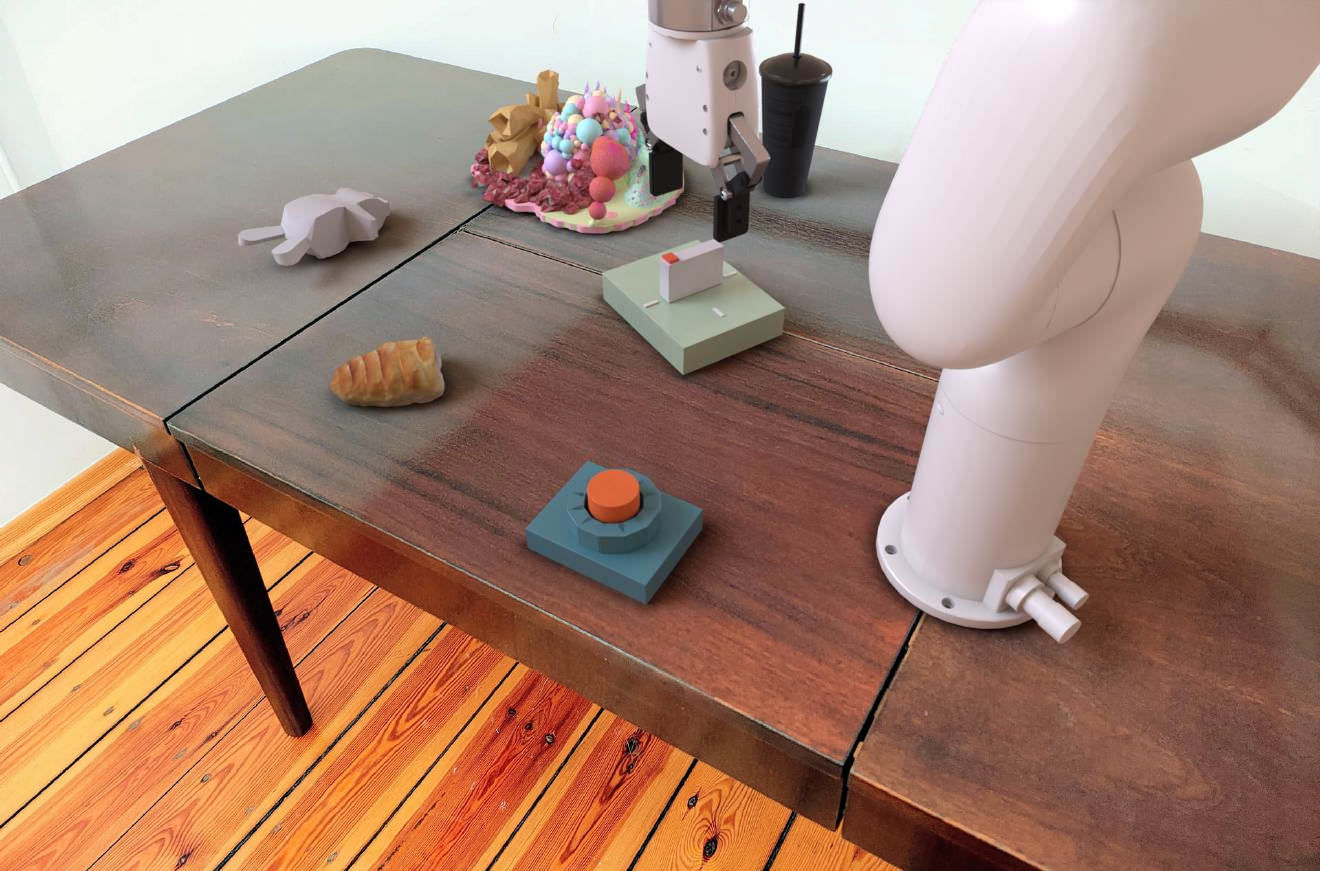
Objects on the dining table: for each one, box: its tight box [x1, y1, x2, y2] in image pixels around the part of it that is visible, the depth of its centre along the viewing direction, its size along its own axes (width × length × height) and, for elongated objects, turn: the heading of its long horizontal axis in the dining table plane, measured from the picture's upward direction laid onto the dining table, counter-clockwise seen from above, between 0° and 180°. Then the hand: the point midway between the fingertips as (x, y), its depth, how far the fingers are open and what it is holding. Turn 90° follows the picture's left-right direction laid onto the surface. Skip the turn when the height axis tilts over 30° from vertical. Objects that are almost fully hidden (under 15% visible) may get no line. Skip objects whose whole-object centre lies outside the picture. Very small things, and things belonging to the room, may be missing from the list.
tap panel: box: [601, 239, 786, 376], centre depth 87 cm, size 14×11×3 cm
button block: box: [525, 460, 704, 605], centre depth 66 cm, size 10×8×4 cm
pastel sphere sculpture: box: [470, 69, 685, 234], centre depth 105 cm, size 25×24×9 cm
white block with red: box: [659, 238, 725, 303], centre depth 85 cm, size 6×2×4 cm, turn 123°
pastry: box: [330, 336, 445, 408], centre depth 79 cm, size 9×7×4 cm
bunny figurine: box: [237, 186, 391, 267], centre depth 96 cm, size 10×5×15 cm
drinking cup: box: [758, 2, 834, 199], centre depth 100 cm, size 8×8×20 cm
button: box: [587, 470, 640, 524], centre depth 65 cm, size 4×4×2 cm
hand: (697, 213), depth 80 cm, fingers open, 9 cm apart
